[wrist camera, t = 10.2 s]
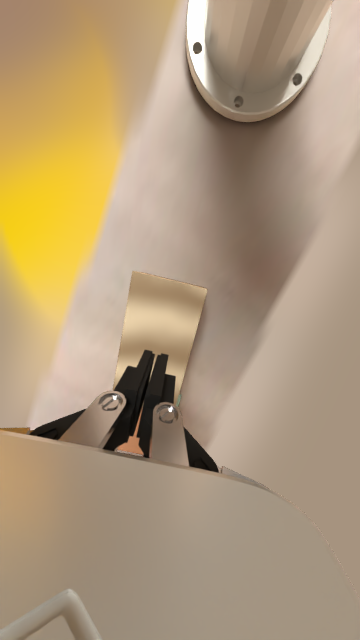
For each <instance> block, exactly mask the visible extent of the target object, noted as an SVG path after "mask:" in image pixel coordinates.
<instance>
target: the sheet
mask: <svg viewBox="0 0 360 640" xmlns="http://www.w3.org/2000/svg"><path fill="white" fill-rule="evenodd" d="M206 294H207V289H206V288H204V287H200V286H196V285H192V284H188V283H184V282H180V281H176V280H172V279H167V278H163V277H159V276H155V275H151V274H147V273H143V272H135V271H132V277H131V283H130V289H129V295H128V301H127V307H126V313H125V319H124V325H123V331H122V337H121V343H120V349H119V355H118V361H117V367H116V373H115V379H114V385H113V391H114V389H115V387H116V385H117V384H118V382H119V380H120V378H121V377H122V375H123V373H124V371H125V370H126V368H127V366H132V367H137V365H138V363H139V361H140V359H141V357H142V354H143V352H144V350H150V351H153V354H155V358H154V362H153V367H152V371H153V368H154V365H155V361H156V358H157V355H161V353H163V354H167V355H169V356H168V362H167V367H166V373H165V374H169V375H173V376H176V380H175V392H174V405H175V406H176V403H177V399H178V396H179V392H180V388H181V385H182V381H183V378H184V374H185V370H186V367H187V363H188V359H189V356H190V352H191V348H192V345H193V341H194V338H195V334H196V330H197V327H198V323H199V319H200V316H201V312H202V308H203V305H204V301H205V298H206ZM152 371H151V374H152ZM150 378H151V376H150ZM143 404H144V403H143ZM142 407H143V406H142Z"/></svg>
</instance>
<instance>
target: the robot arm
mask: <svg viewBox="0 0 360 640" xmlns="http://www.w3.org/2000/svg"><path fill="white" fill-rule="evenodd" d="M332 2H333V0H189V1H188V7H187V17H186V50H187V59H188V63H189V67H190V71H191V75H192V78H193V80H194V82H195V84H196V87H197V89H198V91H199V92H200V94H201V95H202V97H203V98H204V100H205V101H206V102H207V103H208V104H209V105H210V106H211V107H212V108H213V109H214V110H215V111H217V112H218V113H220V114H221V115H223V116H224V117H226V118H229V119H232V120H235V121H241V122H254V121H260V120H263V119H266V118H269V117H271V116H273V115H275V114H276V113H278V112H280V111H281V110H283V109H284V108H285V107H286V106H287V105H289V104H290V103H291V102H292V101H293V100H294V99H295V98H296V96H297V95H298V94H299V93H300V91H301V90H302V89H303V88H304V86H305V85H306V83H307V81H308V80H309V78H310V77H311V75H312V74H313V72H314V70H315V68H316V66H317V64H318V62H319V60H320V58H321V56H322V53H323V50H324V47H325V44H326V41H327V38H328V33H329V27H330V22H331V8H332ZM168 356H169V355H167V354H163V353H161V355H157V358H156V361H155V365H154V368H153V371H152V367H153V362H154V358H155V354H153V351H150V350H144V352H143V354H142V357H141V359H140V361H139V363H138V365H137V367H132V366H127V368H126V370H125V371H124V373H123V375H122V377H121V378H120V380H119V382H118V384H117V385H116V387H115V389H114V391H108V392H104V393H102V394H100V395H99V396H98V397H97V398H96V399H95V400H94V401H93V402H92V403H91V405H90V406H89V407H88V408H87V409H84V410H82V411H79V412H76V413H74V414H71V415H68V416H66V417H63V418H60V419H58V420H55V421H52V422H50V423H47V424H45V425H42V426H40V427H38V428H36V429H35V430H30V427H27V428H0V640H360V598H359V596H358V594H357V593H356V591H355V589H354V587H353V585H352V584H351V582H350V580H349V578H348V576H347V575H346V573H345V571H344V569H343V568H342V566H341V564H340V562H339V561H338V559H337V557H336V556H335V554H334V552H333V550H332V549H331V547H330V545H329V544H328V542H327V541H326V539H325V538H324V536H323V535H322V533H321V532H320V530H319V529H318V528H317V526H316V525H315V524H314V523H313V521H312V520H311V519H310V518H309V517H308V516H307V515H306V514H305V513H304V512H303V511H302V510H300V509H299V508H298V507H297V506H296V505H294V504H293V503H292V502H290V501H289V500H287V499H286V498H284V497H283V496H281V495H279V494H278V493H276V492H274V491H272V490H270V489H269V488H267V487H266V486H264V485H263V484H261V483H258V482H256V481H254V480H252V479H250V478H248V477H245V476H243V475H241V474H239V473H237V472H234V471H232V470H230V469H228V468H226V467H223V466H222V468H219V467H217V465H216V464H215V462H214V461H213V459H212V458H211V457H210V456H209V455H208V454H207V452H206V451H205V450H204V449H203V448H202V447H201V446H200V445H199V443H198V442H197V441H196V440H195V439H194V438H193V437H192V435H191V434H190V433H189V432H188V431H187V430H186V429H185V428H184V426H183V421H182V414H181V411H180V410H179V408H178V407H177V406H175V405H174V392H175V380H176V376H173V375H169V374H165V373H166V367H167V362H168ZM151 371H152V374H151ZM150 376H151V378H150ZM143 403H144V404H143ZM142 406H143V408H142ZM141 409H142V413H141ZM140 413H141V417H140V422H139V427H138V431H137V436H136V437H137V438H140V439H139V444H138V445H139V447H140V449H141V450H142V452H143V456H142V457H140V456H135V455H130V454H125V453H120V452H117V450H118V447H119V446H120V445H122V444H124V443H127V442H128V439H129V436H132V437H133V436H134V433H135V429H136V426H137V423H138V419H139V416H140Z"/></svg>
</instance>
